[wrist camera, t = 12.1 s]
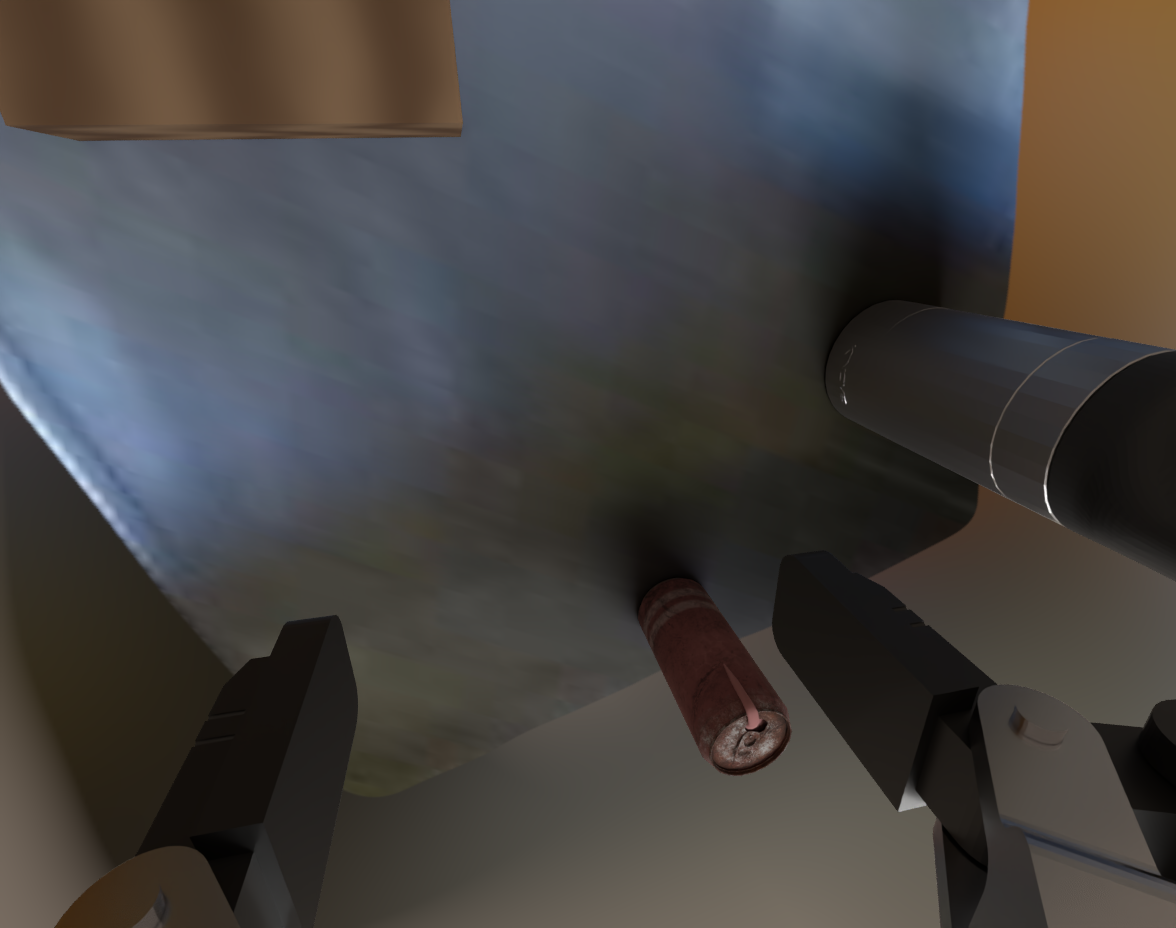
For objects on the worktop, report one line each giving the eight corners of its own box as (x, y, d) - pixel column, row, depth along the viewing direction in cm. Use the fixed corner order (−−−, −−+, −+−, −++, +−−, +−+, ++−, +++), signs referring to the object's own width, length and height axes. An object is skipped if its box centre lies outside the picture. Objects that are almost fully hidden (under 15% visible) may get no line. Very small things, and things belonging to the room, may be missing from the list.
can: (696, 561, 46) (790, 690, 33) (711, 617, 48) (802, 756, 36) (627, 588, 45) (696, 731, 33) (646, 644, 48) (716, 794, 35)
